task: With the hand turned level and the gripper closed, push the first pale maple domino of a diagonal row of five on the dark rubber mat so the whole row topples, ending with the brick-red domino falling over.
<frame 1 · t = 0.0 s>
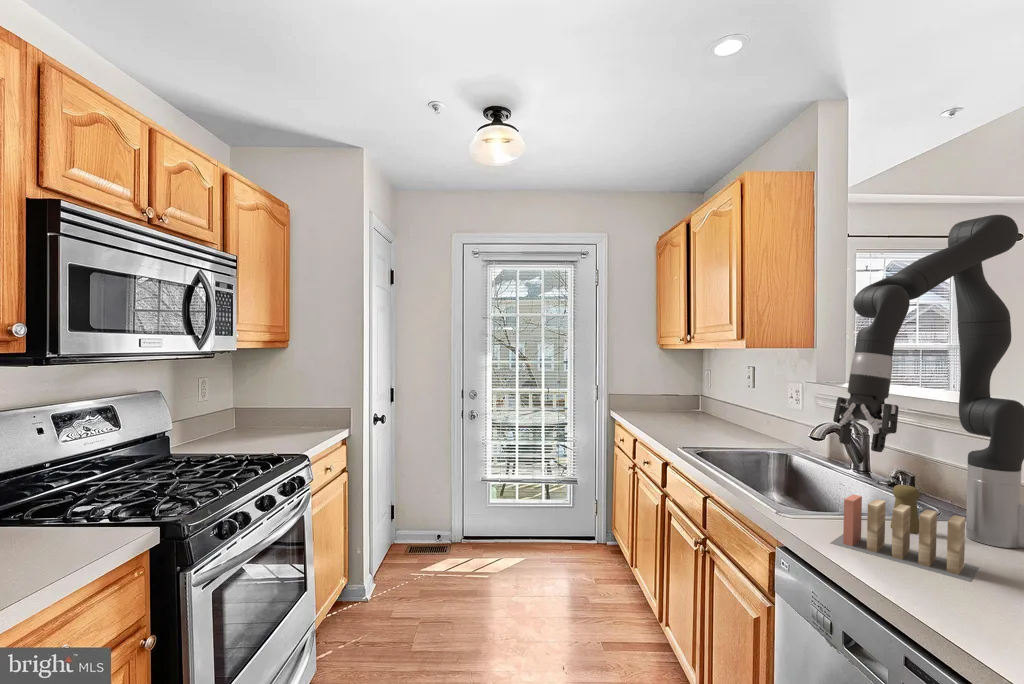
hand: (859, 447, 115), 22 cm above the counter, tool pointing down, fingers open, 8 cm apart
cork: (905, 531, 127), on the counter
domino 3: (900, 554, 111), resting on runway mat
domino 2: (927, 561, 108), resting on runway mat
domino 4: (875, 548, 114), resting on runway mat
domino 5: (852, 541, 118), resting on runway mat
domino 1: (955, 569, 104), resting on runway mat
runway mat: (900, 556, 111), on the counter
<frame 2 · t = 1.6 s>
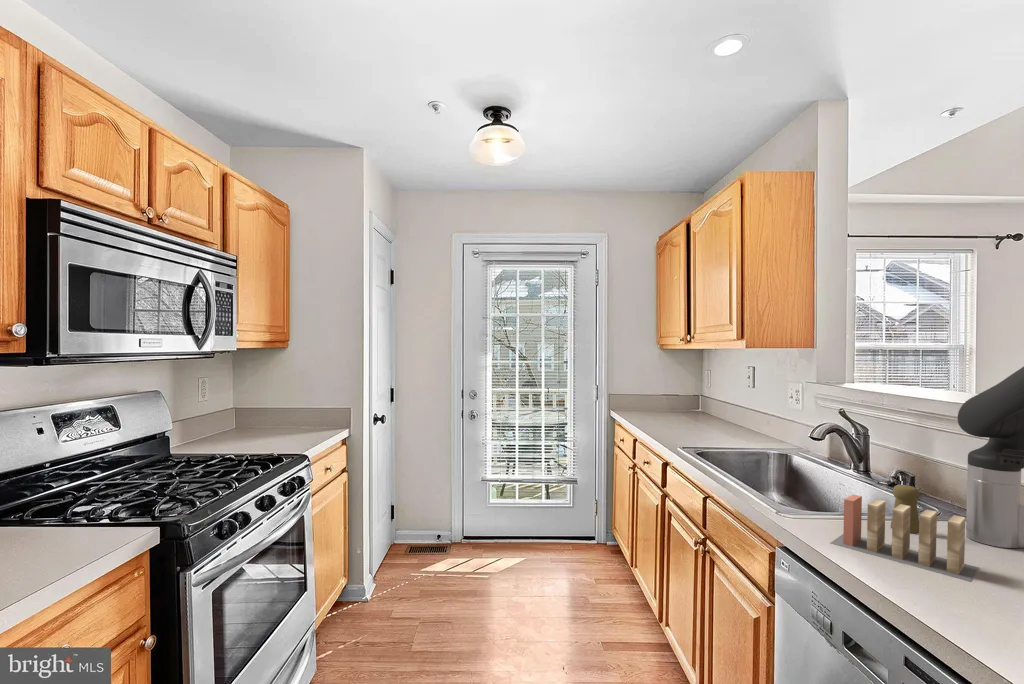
hand: (999, 456, 99), 24 cm above the counter, tool horizontal, fingers open, 6 cm apart
nothing on the counter moved.
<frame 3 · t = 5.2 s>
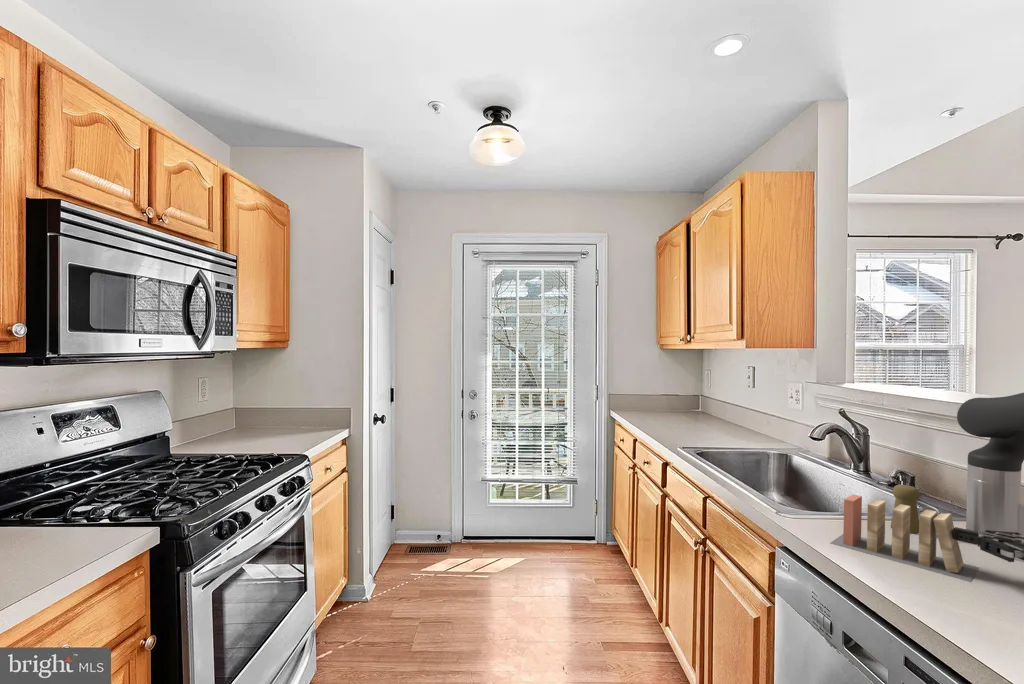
hand: (953, 532, 104), 8 cm above the counter, tool horizontal, fingers closed
domino 1: (955, 568, 104), point 1 cm above the counter, tilted 13°, touching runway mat
everything else where it was.
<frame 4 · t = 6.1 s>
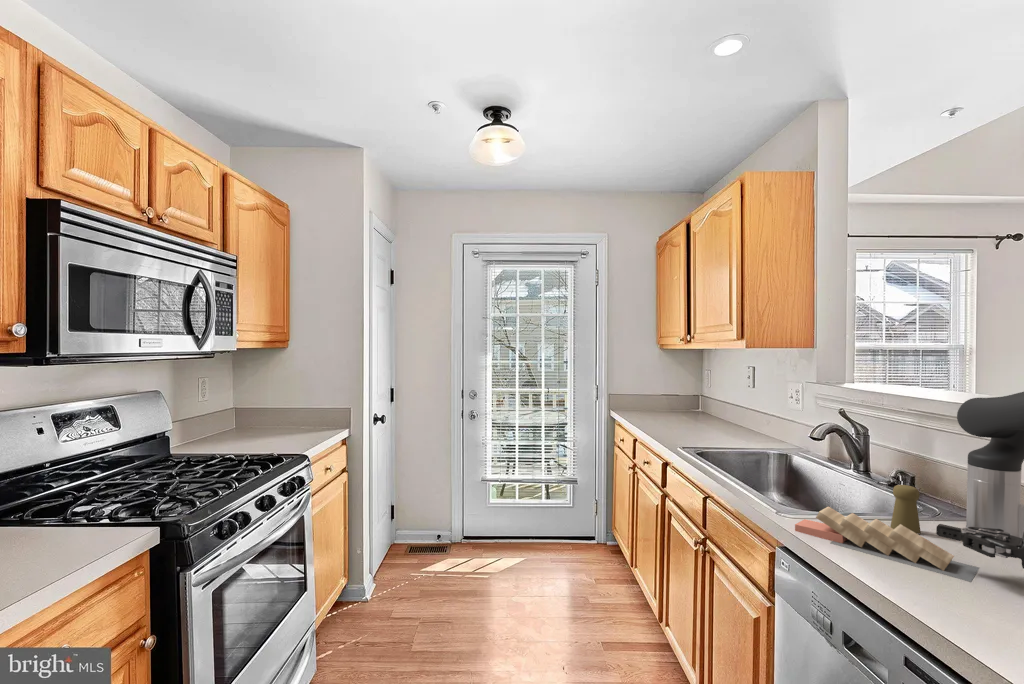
hand: (937, 529, 106), 8 cm above the counter, tool horizontal, fingers closed
domino 3: (894, 549, 112), point 1 cm above the counter, tilted 66°, touching domino 2, domino 4, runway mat
domino 2: (921, 556, 108), point 1 cm above the counter, tilted 66°, touching domino 1, domino 3, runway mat
domino 4: (867, 540, 116), point 1 cm above the counter, tilted 66°, touching domino 3, domino 5
domino 5: (847, 536, 119), point 1 cm above the counter, tilted 92°, touching domino 4, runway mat
domino 1: (949, 563, 105), point 1 cm above the counter, tilted 66°, touching domino 2
everything else where it was.
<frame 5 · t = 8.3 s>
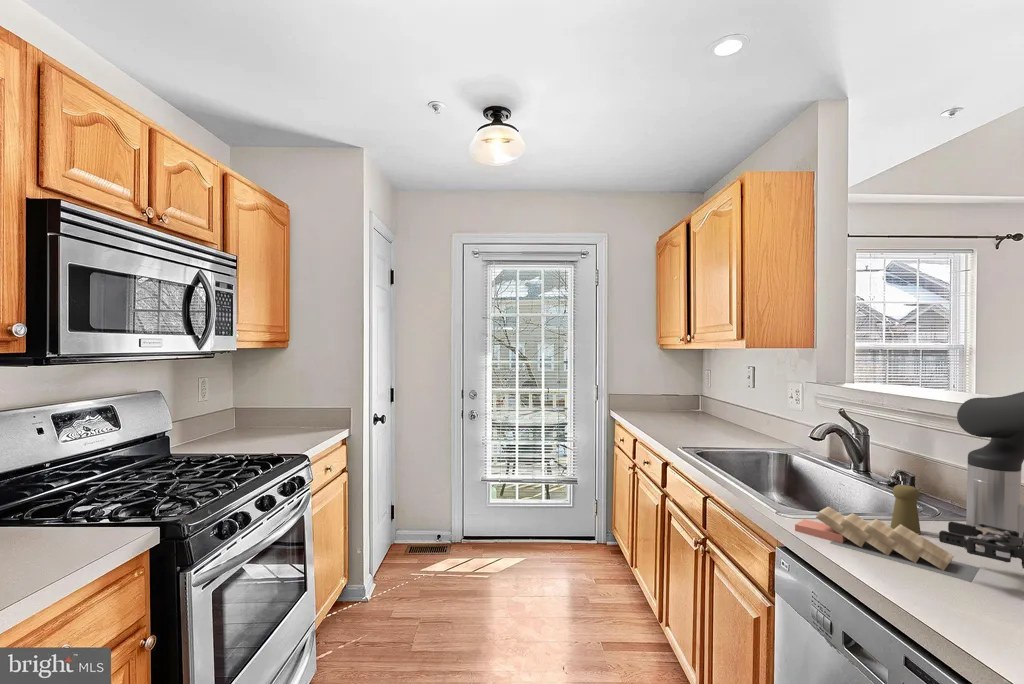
hand: (944, 531, 106), 8 cm above the counter, tool horizontal, fingers open, 8 cm apart
nothing on the counter moved.
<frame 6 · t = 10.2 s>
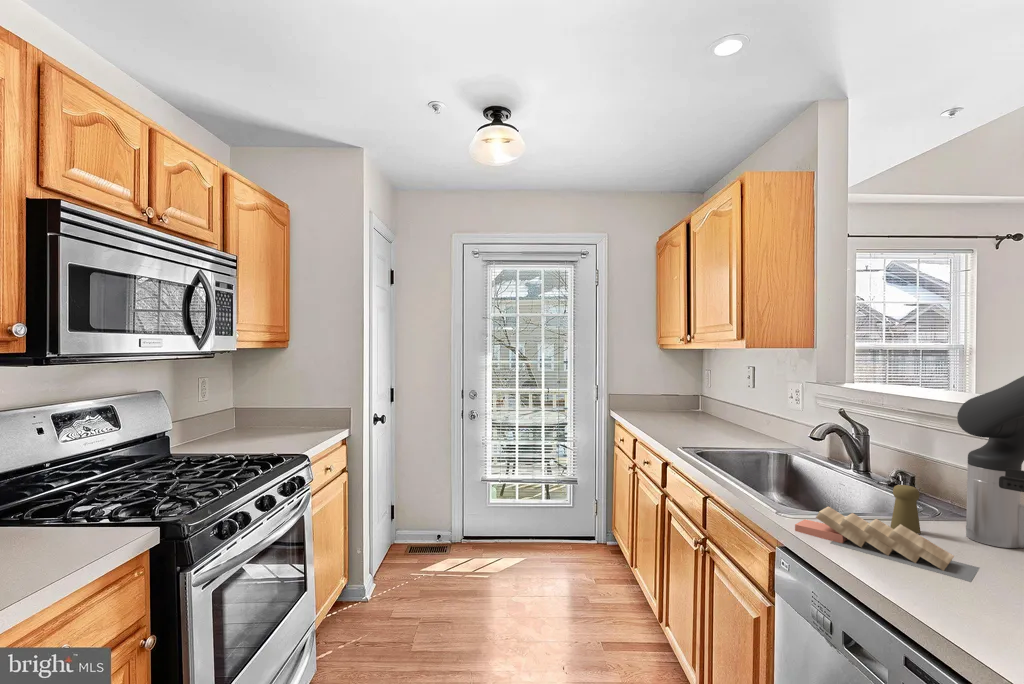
hand: (1002, 477, 99), 20 cm above the counter, tool horizontal, fingers open, 8 cm apart
nothing on the counter moved.
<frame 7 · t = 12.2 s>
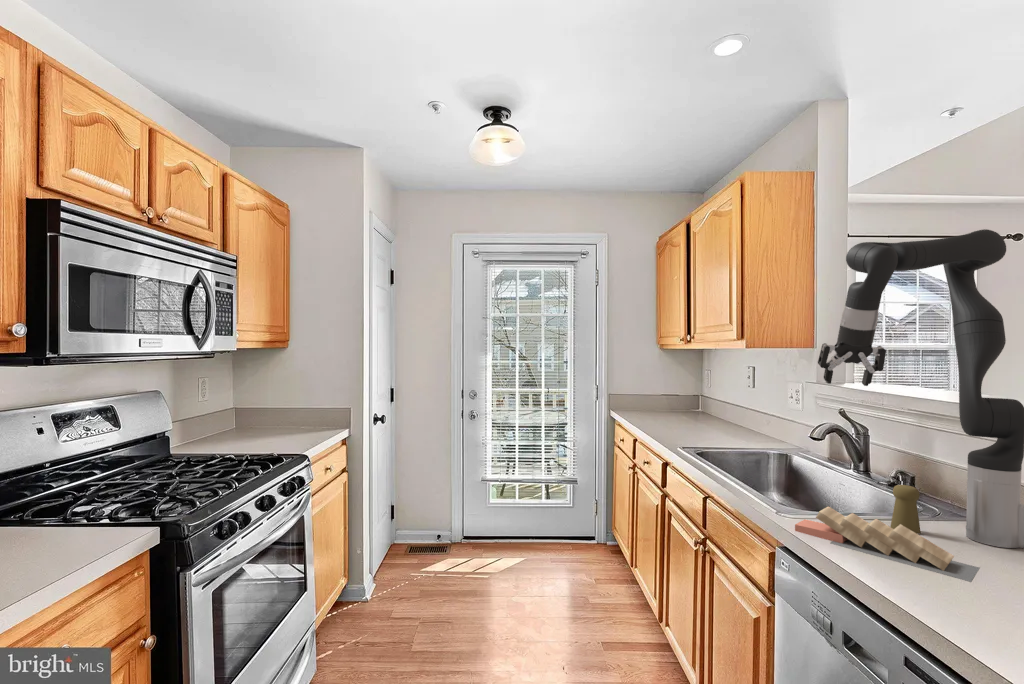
hand: (846, 383, 136), 35 cm above the counter, tool tilted 20°, fingers open, 8 cm apart
nothing on the counter moved.
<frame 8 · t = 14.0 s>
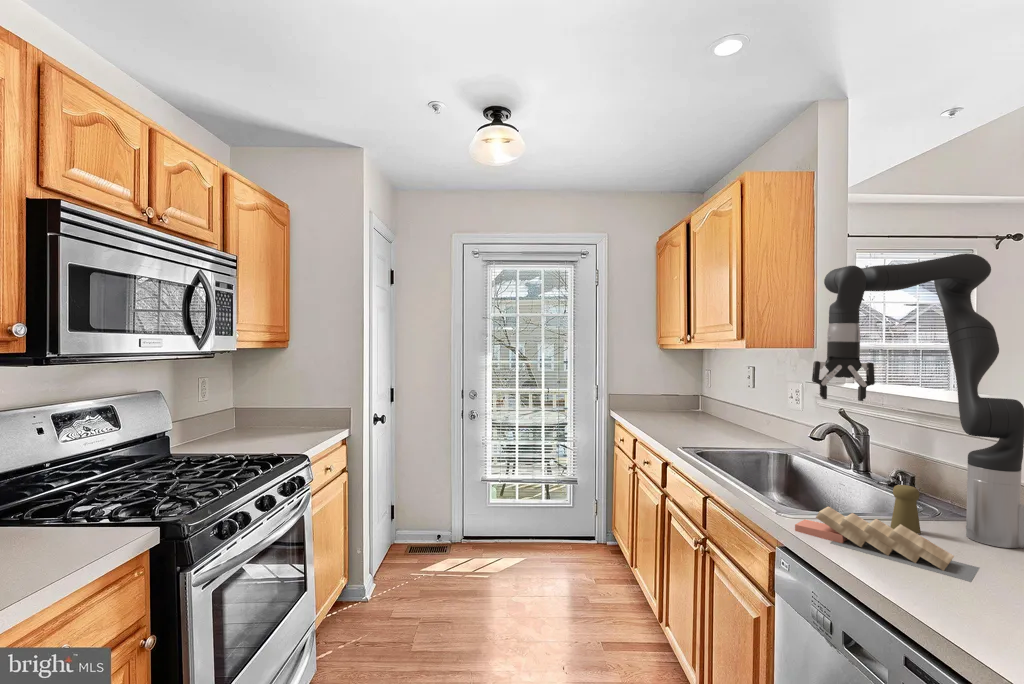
hand: (842, 399, 142), 30 cm above the counter, tool pointing down, fingers open, 8 cm apart
nothing on the counter moved.
at the end: domino 5 tilted 92°; domino 3 tilted 66°; domino 1 tilted 66° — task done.
